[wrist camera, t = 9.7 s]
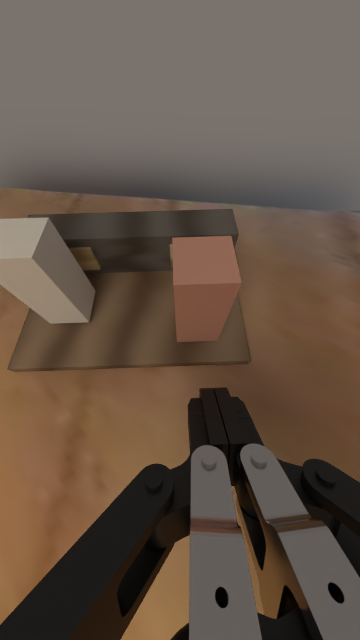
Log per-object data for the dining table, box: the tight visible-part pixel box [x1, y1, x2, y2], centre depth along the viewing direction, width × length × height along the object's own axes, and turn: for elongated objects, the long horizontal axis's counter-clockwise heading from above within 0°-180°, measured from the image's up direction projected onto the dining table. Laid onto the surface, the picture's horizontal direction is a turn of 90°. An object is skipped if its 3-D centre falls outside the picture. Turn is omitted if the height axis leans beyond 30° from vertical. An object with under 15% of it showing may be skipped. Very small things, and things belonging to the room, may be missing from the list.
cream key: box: [0, 217, 95, 324], centre depth 18 cm, size 4×4×9 cm
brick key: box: [172, 236, 242, 342], centre depth 17 cm, size 4×4×9 cm
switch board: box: [8, 209, 251, 372], centre depth 21 cm, size 23×16×6 cm
